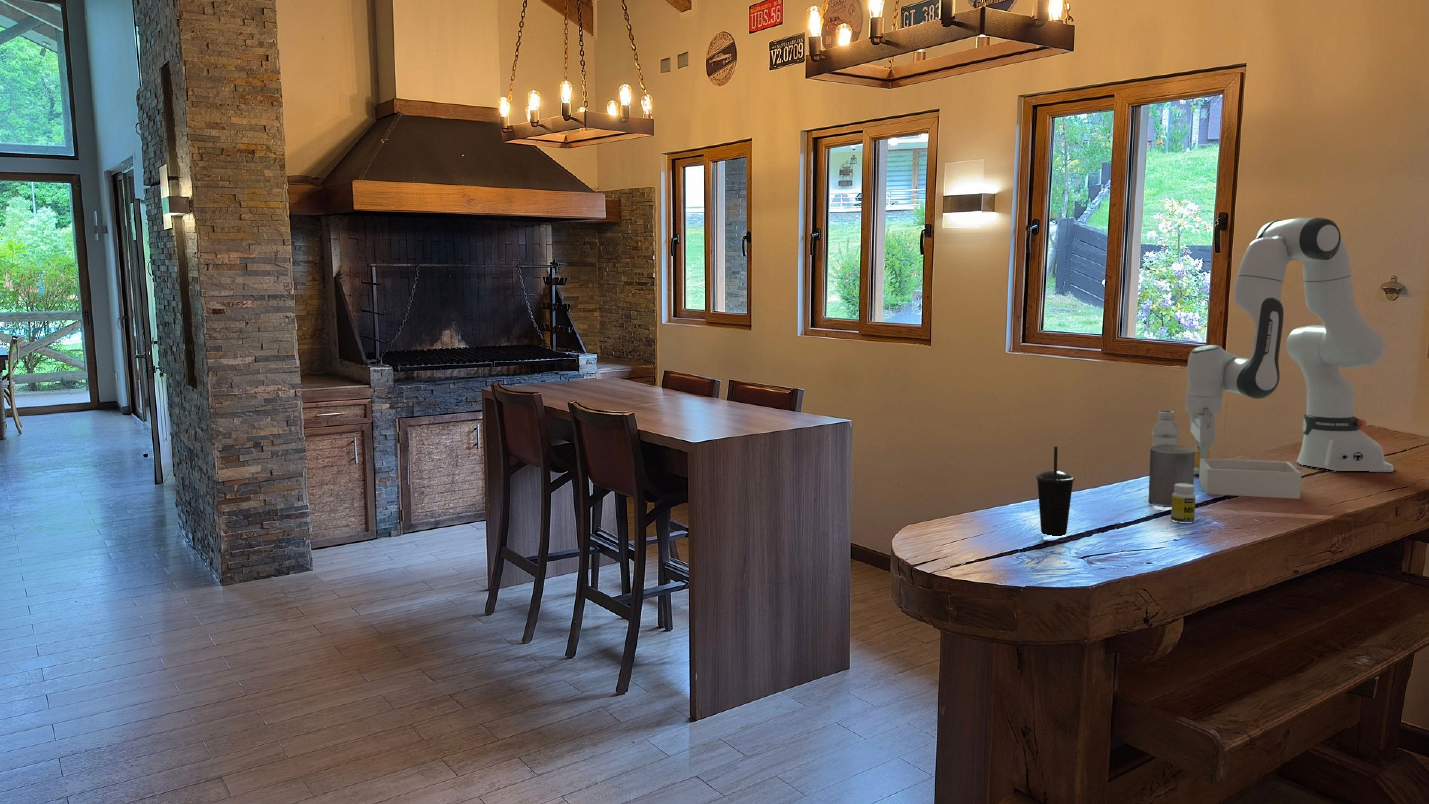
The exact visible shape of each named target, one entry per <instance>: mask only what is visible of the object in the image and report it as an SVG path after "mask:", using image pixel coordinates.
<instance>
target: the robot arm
mask: <svg viewBox="0 0 1429 804" xmlns="http://www.w3.org/2000/svg"><path fill="white" fill-rule="evenodd" d="M1298 260H1300V262H1301V264H1302V274H1303V275H1302V279H1303V291H1304V299H1305V306H1306V308H1307V310H1308V311H1309V312H1311V313H1312V314H1314V316H1316V317H1317V318H1318V319H1319V320H1320V322H1322V324H1323V325H1322V324H1321V325H1319V324H1318V325H1317V324H1313V325H1306V326H1305V325H1304V326H1300V327H1297V328H1294V329H1293V330H1292V331H1291V332H1290V333H1289V335H1288V336H1287V339H1286V344H1285V348H1286V352H1287V354H1288V355H1289V357H1290V358H1291V359H1292V360H1293V361H1294V362H1295V363H1296V364H1297V365H1298V367H1299V369H1300V371H1301V372H1302V375H1303V378H1304V381H1305V386H1306V406H1305V407H1306V408H1305V409H1306V410H1305V413H1304V415H1303V419H1302V421H1303V423H1302V432H1303V433H1302V434H1303V439H1302V444H1301V447H1300V451H1299V455H1298V457H1297V460H1296V462H1298V463H1299V464H1298V463H1297V464H1298V465H1300V464H1301V465H1300V466H1303V465H1307V466H1317V467H1322V468H1327V469H1330V470H1337V471H1369V473H1372V472H1373V473H1375V472H1376V473H1390V472H1391V473H1392V472H1394V469H1395V468H1394V465H1393V464H1392V463H1389V462H1387V461H1385V455H1384V450H1383V447H1382V445H1380V443H1378V442H1377V441H1375V439H1373V438H1372V437H1370V436H1369V435H1367V434H1366V433H1365V432H1364V431H1363V430H1360V429H1361V428H1366V426H1367V425H1368V422H1367V421H1366V420H1365V419H1363V418H1361V419H1360V418H1358V417H1356V416H1354V407H1355V405H1354V404H1355V389H1354V387H1353V385H1352V384H1351V383H1350V382H1349V381H1347V380H1346V379H1345V378H1344V377H1343V375H1342V373H1341V371H1340V368H1339V367H1342V368H1353V369H1354V368H1363V367H1364V368H1365V367H1372V366H1374V365H1376V364H1377V363H1378V362H1380V360H1381V359H1382V357H1383V356H1384V353H1385V349H1386V346H1385V341H1384V338H1383V336H1382V335H1381V334H1380V333H1379V332H1378V331H1376V330H1375V329H1374V328H1372V327H1371V326H1370V325H1369V324H1368V323H1367V322H1366V320H1365V319H1364V317H1363V316H1362V314H1361V312H1360V310H1359V308H1358V305H1357V303H1356V299H1355V294H1354V287H1353V277H1352V268H1351V262H1350V258H1349V254H1348V251H1347V247H1346V245H1345V241H1343V240H1342V235H1341V231H1340V229H1339V227H1338V225H1337V223H1336V222H1335V221H1333V220H1332V219H1329V218H1325V217H1314V218H1313V217H1294V218H1291V219H1290V218H1289V219H1283V220H1280V219H1278V220H1274V221H1270V222H1268V223H1265V224H1264V225H1262V226H1261V228H1260V229H1259V230H1258V232H1257V234H1256V236H1255V239H1254V240H1252V242H1250V243H1249V244H1248V246H1247V248H1246V250H1245V253H1244V254H1243V256H1242V259H1241V262H1240V264H1239V268H1238V271H1237V274H1236V277H1235V278H1236V279H1235V282H1234V286H1233V300H1234V301H1235V303H1236V305H1237V306H1238V307H1239V308H1240V309H1241V310H1242V311H1244V312H1245V313H1246V314H1248V315H1249V317H1251V319H1252V320H1253V323H1254V326H1255V327H1254V336H1253V344H1252V350H1251V351H1252V352H1251V355H1250V357H1249V358H1246V357H1241V356H1238V355H1235V354H1232V353H1230V352H1228V351H1227V350H1225V349H1224V348H1223V347H1222V346H1221V345H1217V344H1209V345H1201V346H1197V347H1195V348H1193V349H1192V350H1191V351H1190V353H1189V355H1188V360H1187V366H1186V382H1187V389H1186V392H1185V408H1184V409H1185V410H1184V411H1185V412H1187V413H1188V414H1189V415H1188V417H1189V429H1190V433H1191V434H1192V435H1193V437H1194V438H1195V439H1194V440H1195V450H1200V451H1199V457H1200V458H1203V459H1206V458H1207V453H1208V451H1209V448H1210V446H1214V444H1215V442H1216V419H1217V414H1221V413H1222V412H1223V393H1224V392H1225V391H1226V392H1230V393H1234V394H1240V395H1244V396H1246V397H1249V398H1251V399H1257V400H1260V399H1265V398H1267V397H1268V396H1270V395H1272V393H1274V392H1275V390H1277V387H1278V386H1279V383H1280V378H1281V377H1280V376H1281V375H1280V366H1279V359H1280V357H1279V356H1280V349H1281V341H1282V334H1283V326H1284V307H1283V303H1282V289H1283V284H1284V279H1285V276H1286V270H1287V266H1288V264H1289V263H1290V262H1291V261H1298ZM1307 466H1306V467H1307Z"/></svg>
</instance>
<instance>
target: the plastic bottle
mask: <svg viewBox="0 0 1429 804" xmlns="http://www.w3.org/2000/svg"><path fill="white" fill-rule="evenodd" d="M1157 419H1158V421H1156V423H1155V424H1154V426H1153V427H1152V429H1151V437H1152V445H1153V446H1157V445H1172V443H1173V445H1178V442H1179V437H1180V430H1179V428H1178V426H1177V424H1176V423H1175V422H1174V419H1175V411H1174V410H1167V409H1165V410H1164V409H1163V410H1162V409H1161V410H1158V415H1157ZM1153 446H1152V447H1153Z"/></svg>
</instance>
